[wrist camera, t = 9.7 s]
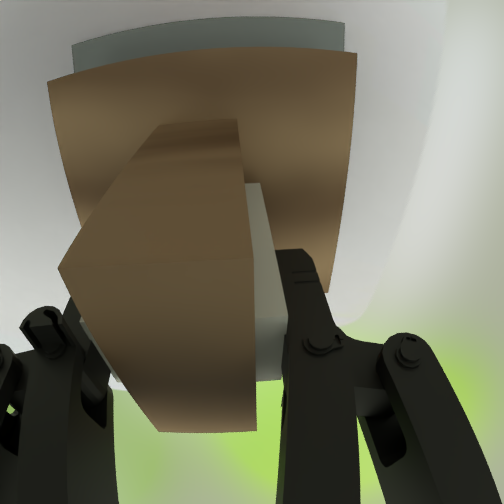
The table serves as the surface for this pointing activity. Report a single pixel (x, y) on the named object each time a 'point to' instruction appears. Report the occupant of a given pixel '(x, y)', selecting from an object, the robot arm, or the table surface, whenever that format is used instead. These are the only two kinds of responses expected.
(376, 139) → the table surface
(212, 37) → the mat
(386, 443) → the robot arm
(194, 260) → the lid
